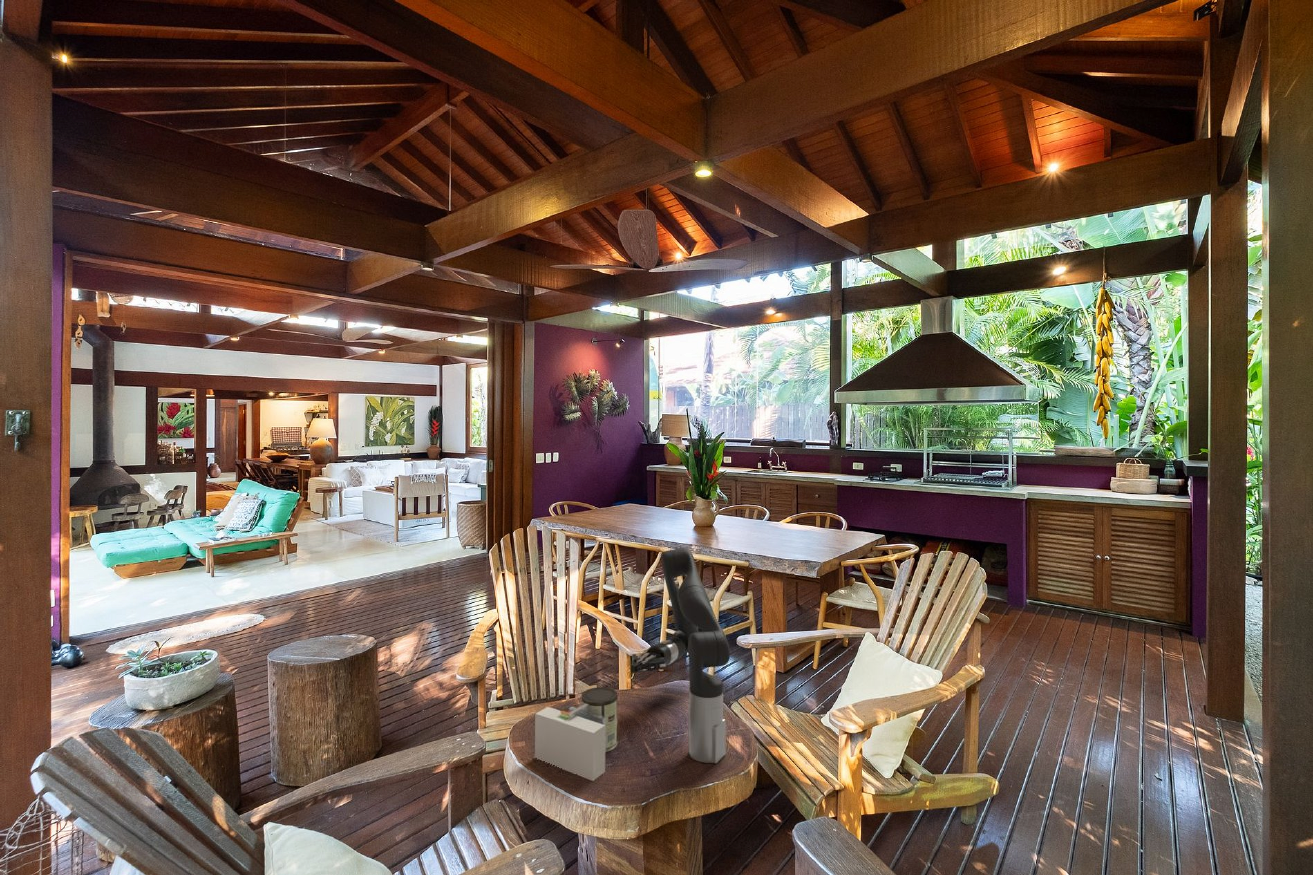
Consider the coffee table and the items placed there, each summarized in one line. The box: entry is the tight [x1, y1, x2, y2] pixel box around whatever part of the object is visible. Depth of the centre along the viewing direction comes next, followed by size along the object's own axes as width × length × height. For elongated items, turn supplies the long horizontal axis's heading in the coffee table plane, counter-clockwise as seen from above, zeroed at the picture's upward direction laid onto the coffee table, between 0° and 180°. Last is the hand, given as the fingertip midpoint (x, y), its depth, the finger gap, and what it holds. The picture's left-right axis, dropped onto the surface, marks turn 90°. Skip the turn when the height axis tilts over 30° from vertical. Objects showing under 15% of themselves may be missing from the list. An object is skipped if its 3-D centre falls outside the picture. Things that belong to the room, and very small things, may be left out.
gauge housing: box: [534, 706, 606, 782], centre depth 156 cm, size 20×5×12 cm, turn 58°
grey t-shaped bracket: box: [560, 703, 606, 751], centre depth 159 cm, size 12×8×11 cm, turn 58°
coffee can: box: [580, 686, 619, 753], centre depth 167 cm, size 10×10×14 cm
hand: (633, 669), depth 181 cm, fingers closed
